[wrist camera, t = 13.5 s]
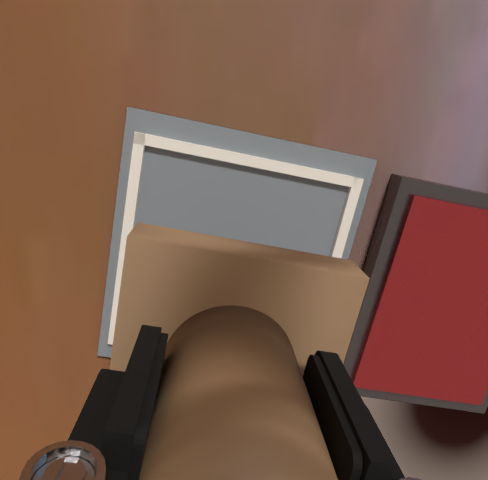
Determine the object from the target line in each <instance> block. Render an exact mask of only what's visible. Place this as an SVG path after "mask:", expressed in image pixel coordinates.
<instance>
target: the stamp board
mask: <svg viewBox="0 0 488 480" xmlns="http://www.w3.org/2000/svg"><path fill="white" fill-rule="evenodd" d="M376 163H377V160H375V159H371V158H366V157H361V156H357V155H352V154H347V153H342V152H338V151H333V150H328V149H324V148H319V147H314V146H310V145H305V144H300V143H296V142H291V141H286V140H281V139H277V138H272V137H267V136H263V135H258V134H253V133H249V132H244V131H239V130H235V129H230V128H225V127H220V126H216V125H211V124H206V123H202V122H197V121H192V120H188V119H183V118H178V117H174V116H169V115H164V114H159V113H155V112H150V111H145V110H141V109H136V108H131V107H127V115H126V123H125V131H124V140H123V148H122V156H121V165H120V173H119V181H118V190H117V198H116V206H115V215H114V223H113V231H112V240H111V248H110V256H109V265H108V273H107V281H106V290H105V298H104V306H103V314H102V323H101V331H100V339H99V348H98V356H103V357H110V358H111V354H112V346H113V339H114V331H115V324H116V316H117V308H118V301H119V293H120V286H121V278H122V270H123V263H124V255H125V247H126V240H127V236H128V234H129V233H130V232H131V230H132V229H133V228H134V227H135V225H136V224H137V223H138V222H140V223H145V224H151V225H156V226H162V227H168V228H173V229H179V230H185V231H190V232H196V233H201V234H207V235H213V236H218V237H224V238H230V239H235V240H241V241H246V242H252V243H258V244H263V245H269V246H274V247H280V248H286V249H291V250H297V251H303V252H308V253H314V254H319V255H325V256H331V257H336V258H342V259H347V260H348V259H349V255H350V252H351V249H352V245H353V242H354V238H355V235H356V232H357V228H358V225H359V221H360V218H361V215H362V211H363V208H364V204H365V201H366V197H367V194H368V191H369V187H370V184H371V180H372V177H373V174H374V170H375V167H376Z"/></svg>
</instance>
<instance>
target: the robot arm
mask: <svg viewBox="0 0 488 480" xmlns="http://www.w3.org/2000/svg"><path fill="white" fill-rule="evenodd" d="M161 331H162V327H156V326H149V325H142V326H141V329H140V332H139V334H138V337H137V340H136V343H135V345H134V348H133V351H132V354H131V357H130V359H129V362H128V365H127V368H126V370H125V372H124V371H117V370H109V369H101V370H100V372H99V374H98V376H97V378H96V381H95V383H94V385H93V387H92V389H91V391H90V394H89V396H88V398H87V400H86V402H85V404H84V407H83V409H82V411H81V413H80V415H79V417H78V420H77V422H76V424H75V426H74V428H73V430H72V433H71V435H70V437H69V439H68V441H61V442H57V443H54V444H51V445H48V446H46V447H44V448H43V449H41V450H40V451H38V452H36V453H35V454H34V455H33V456H32V457H31V458H30V459H29V460H28V461H27V463H26V465H25V466H24V468H23V470H22V472H21V476H20V479H19V480H139V476H140V472H141V467H142V462H143V458H144V453H145V448H146V443H147V439H148V434H149V429H150V425H151V420H152V415H153V410H154V406H155V401H156V396H157V392H158V387H159V382H160V377H161V373H162V368H163V363H164V358H165V352H166V346H167V340H168V334H167V333H161ZM303 379H304V382H305V385H306V388H307V391H308V394H309V397H310V400H311V403H312V406H313V409H314V411H315V414H316V417H317V420H318V423H319V426H320V429H321V432H322V435H323V438H324V441H325V443H326V446H327V449H328V452H329V455H330V458H331V461H332V464H333V467H334V470H335V473H336V475H337V478H338V480H421V479H418V478H411V477H407V478H405V477H404V475H403V473H402V471H401V469H400V467H399V466H398V464H397V462H396V460H395V458H394V457H393V454H392V453H391V451H390V449H389V447H388V445H387V443H386V441H385V439H384V438H383V436H382V434H381V432H380V430H379V428H378V426H377V424H376V423H375V421H374V419H373V417H372V415H371V413H370V411H369V409H368V408H367V407H366V405H365V404H364V402H363V401H362V399H361V397H360V395H359V393H358V391H357V389H356V387H355V385H354V384H353V382H352V380H351V378H350V376H349V374H348V372H347V370H346V369H345V367H344V365H343V363H342V361H341V359H340V357H339V355H338V354H337V353H332V352H325V351H319V350H318V351H316V353H315V355H309V357H308V360H307V363H306V367H305V370H304V374H303Z"/></svg>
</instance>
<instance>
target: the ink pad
mask: <svg viewBox="0 0 488 480" xmlns="http://www.w3.org/2000/svg"><path fill="white" fill-rule="evenodd" d="M362 271H363V272H364V273H365V274H366V275H367V276H368V277H369V278H370V279H369V282H368V286H367V289H366V292H365V295H364V299H363V302H362V305H361V308H360V311H359V315H358V318H357V321H356V324H355V328H354V331H353V334H352V337H351V340H350V344H349V347H348V350H347V353H346V357H345V360H344V363H343V365H344V367H345V369H346V370H347V372H348V374H349V376H350V378H351V380H352V382H353V384H354V385H355V387H356V389H357V391H358V393H359V395H360V396H364V397H371V398H378V399H385V400H392V401H399V402H406V403H413V404H420V405H427V406H434V407H441V408H449V409H456V410H464V411H470V412H477V413H485V411H486V409H487V406H488V194H486V193H482V192H477V191H472V190H467V189H462V188H458V187H453V186H448V185H443V184H439V183H434V182H429V181H424V180H420V179H415V178H410V177H405V176H401V175H396V174H392V175H391V178H390V182H389V185H388V188H387V192H386V195H385V198H384V201H383V205H382V208H381V211H380V214H379V218H378V221H377V224H376V228H375V231H374V234H373V237H372V241H371V244H370V247H369V250H368V254H367V257H366V260H365V263H364V267H363V270H362Z"/></svg>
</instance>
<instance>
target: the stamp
mask: <svg viewBox="0 0 488 480" xmlns="http://www.w3.org/2000/svg"><path fill="white" fill-rule="evenodd" d="M369 279H370V278H369V277H368V276H367V275H366V274H365V273H364V272H363V271H362V270H361V269H360V268H359V267H358V266H357V265H356V264H355V263H354V262H353V261H352V260H347V259H342V258H336V257H331V256H325V255H319V254H314V253H308V252H303V251H297V250H291V249H286V248H280V247H274V246H269V245H263V244H258V243H252V242H246V241H241V240H235V239H230V238H224V237H218V236H213V235H207V234H201V233H196V232H190V231H185V230H179V229H173V228H168V227H162V226H156V225H151V224H145V223H140V222H138V223H137V224H136V225H135V227H134V228H133V229H132V230H131V232H130V233H129V234H128V236H127V240H126V247H125V255H124V263H123V270H122V278H121V286H120V293H119V301H118V308H117V316H116V324H115V331H114V339H113V346H112V354H111V362H110V369H109V370H117V371H124V372H125V370H126V368H127V365H128V362H129V359H130V357H131V354H132V351H133V348H134V345H135V343H136V340H137V337H138V334H139V332H140V329H141V326H142V325H149V326H156V327H162V331H161V333H167V334H168V340H167V346H166V352H165V358H164V363H163V368H162V373H161V377H160V382H159V387H158V392H157V396H156V401H155V406H154V410H153V415H152V420H151V425H150V429H149V434H148V439H147V443H146V448H145V453H144V458H143V462H142V467H141V472H140V476H139V480H338V478H337V475H336V473H335V470H334V467H333V464H332V461H331V458H330V455H329V452H328V449H327V446H326V443H325V441H324V438H323V435H322V432H321V429H320V426H319V423H318V420H317V417H316V414H315V411H314V409H313V406H312V403H311V400H310V397H309V394H308V391H307V388H306V385H305V382H304V379H303V374H304V370H305V367H306V363H307V360H308V357H309V355H315V353H316V351H318V350H319V351H325V352H332V353H337V354H338V355H339V357H340V359H341V361H342V363H344V360H345V357H346V353H347V350H348V347H349V344H350V340H351V337H352V334H353V331H354V328H355V324H356V321H357V318H358V315H359V311H360V308H361V305H362V302H363V299H364V295H365V292H366V289H367V286H368V282H369Z"/></svg>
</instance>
